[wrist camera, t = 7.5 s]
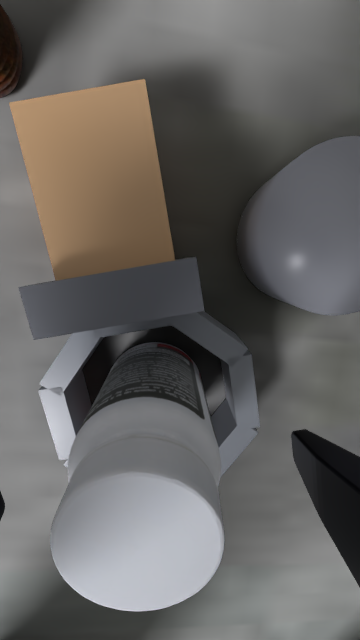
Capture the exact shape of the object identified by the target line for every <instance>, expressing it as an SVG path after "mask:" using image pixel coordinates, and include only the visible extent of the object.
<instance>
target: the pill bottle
mask: <svg viewBox="0 0 360 640" xmlns="http://www.w3.org/2000/svg"><path fill="white" fill-rule="evenodd" d="M220 476H221V457H220V452H219V446H218V442H217V438H216V434H215V431H214V427H213V423H212V420H211V416H210V412H209V408H208V404H207V401H206V397H205V393H204V389H203V384H202V379H201V376H200V373H199V370H198V368H197V366H196V364H195V363H194V361H193V360H192V359H191V358H190V357H189V356H188V355H187V354H186V353H185V352H184V351H182V350H181V349H179V348H177V347H175V346H173V345H170V344H166V343H161V342H151V343H144V344H140V345H137V346H135V347H133V348H131V349H129V350H127V351H126V352H125V353H123V354H122V355H121V356H120V357H119V358H118V359H117V361H116V362H115V363H114V365H113V367H112V368H111V370H110V372H109V374H108V376H107V378H106V380H105V382H104V384H103V386H102V388H101V390H100V392H99V393H98V395H97V397H96V399H95V401H94V403H93V405H92V407H91V409H90V411H89V412H88V414H87V416H86V418H85V420H84V422H83V423H82V425H81V427H80V429H79V431H78V433H77V435H76V437H75V440H74V442H73V445H72V447H71V451H70V454H69V459H68V481H69V485H68V487H67V489H66V491H65V494H64V496H63V498H62V500H61V503H60V505H59V507H58V510H57V512H56V514H55V517H54V520H53V523H52V528H51V535H50V546H51V552H52V557H53V560H54V563H55V565H56V567H57V569H58V571H59V573H60V574H61V576H62V577H63V578H64V580H65V581H66V582H67V583H68V584H69V585H70V586H71V587H72V588H73V589H74V590H75V591H76V592H78V593H79V594H80V595H82V596H83V597H85V598H87V599H89V600H91V601H93V602H95V603H97V604H99V605H102V606H105V607H109V608H114V609H117V610H124V611H149V610H157V609H162V608H166V607H169V606H172V605H174V604H177V603H180V602H182V601H184V600H186V599H187V598H189V597H191V596H192V595H194V594H195V593H197V592H198V591H199V590H201V589H202V588H203V587H204V586H205V585H206V584H207V583H208V581H209V580H210V579H211V578H212V576H213V575H214V573H215V572H216V570H217V568H218V566H219V564H220V562H221V560H222V556H223V551H224V544H225V533H224V525H223V519H222V513H221V506H220V496H219V490H218V486H219V482H220Z"/></svg>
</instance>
